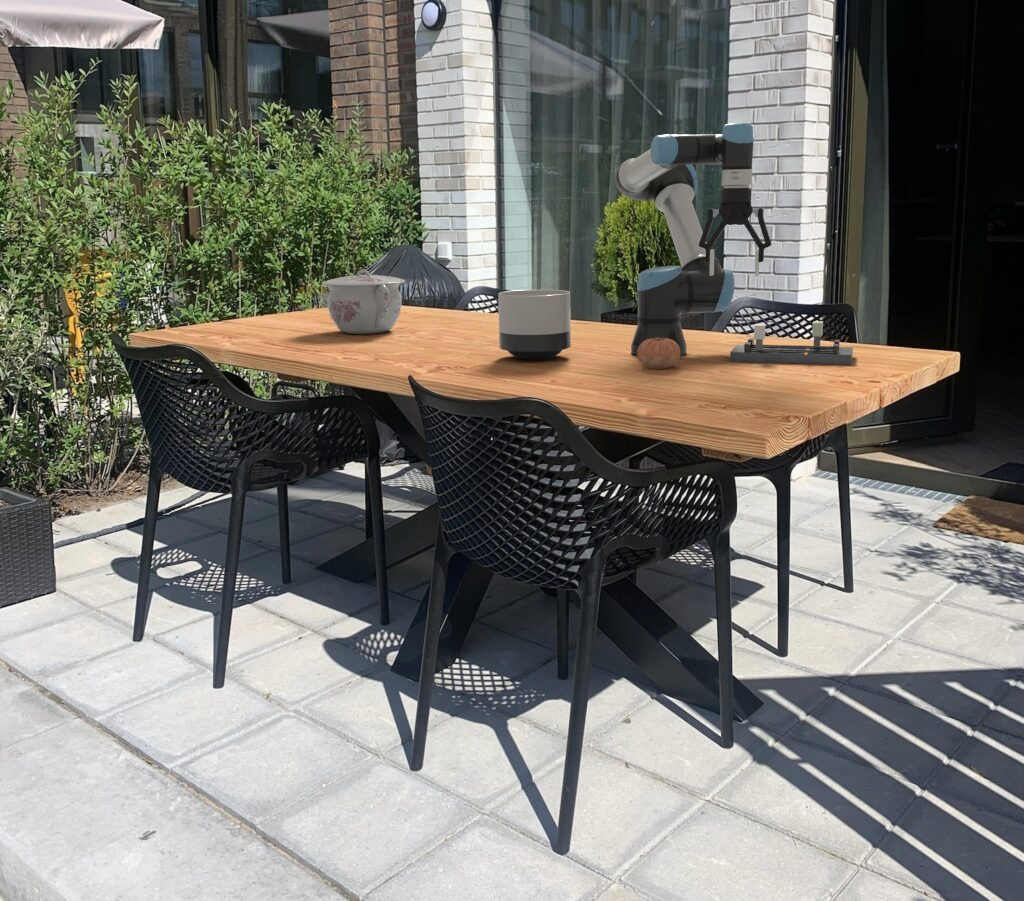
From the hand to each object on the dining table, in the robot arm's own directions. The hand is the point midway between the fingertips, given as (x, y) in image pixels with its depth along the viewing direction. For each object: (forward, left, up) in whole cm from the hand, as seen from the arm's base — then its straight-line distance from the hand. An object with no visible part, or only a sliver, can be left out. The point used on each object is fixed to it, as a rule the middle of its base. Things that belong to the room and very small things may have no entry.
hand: (734, 275), depth 278 cm
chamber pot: (-125, +40, -22) cm, 133 cm away
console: (+15, +3, -22) cm, 27 cm away
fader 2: (+21, +8, -19) cm, 29 cm away
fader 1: (+7, 0, -19) cm, 20 cm away
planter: (-52, -6, -22) cm, 57 cm away
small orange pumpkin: (-16, -17, -22) cm, 32 cm away
